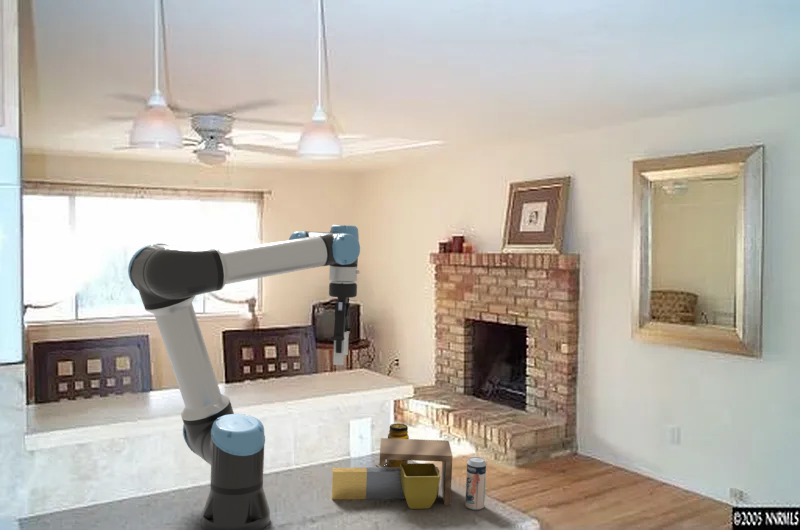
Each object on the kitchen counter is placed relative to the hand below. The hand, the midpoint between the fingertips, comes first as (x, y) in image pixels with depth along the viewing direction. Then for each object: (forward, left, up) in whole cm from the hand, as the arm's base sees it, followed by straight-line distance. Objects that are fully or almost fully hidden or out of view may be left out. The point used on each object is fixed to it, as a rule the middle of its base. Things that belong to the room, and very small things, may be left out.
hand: (340, 359), depth 182 cm
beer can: (+36, -19, -32) cm, 52 cm away
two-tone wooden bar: (+13, -14, -32) cm, 37 cm away
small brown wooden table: (+21, -12, -32) cm, 40 cm away
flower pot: (+22, -19, -32) cm, 43 cm away
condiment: (+16, +7, -32) cm, 37 cm away
